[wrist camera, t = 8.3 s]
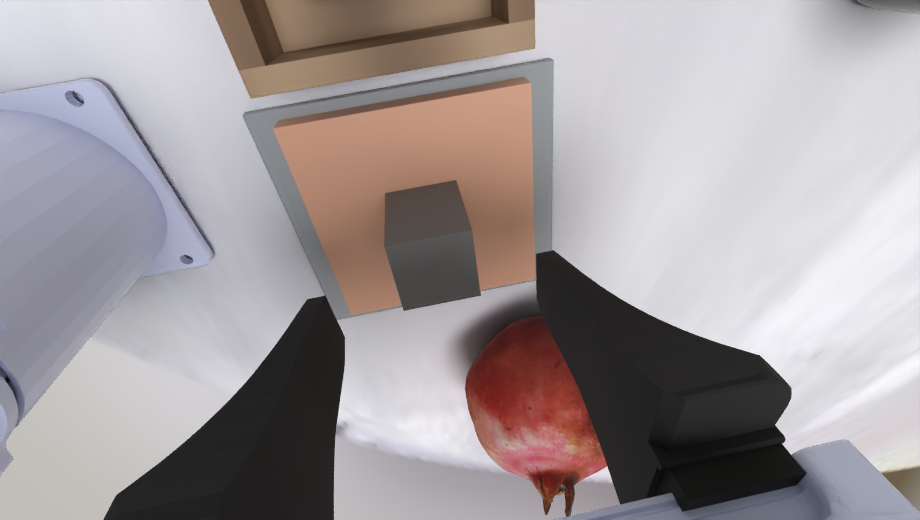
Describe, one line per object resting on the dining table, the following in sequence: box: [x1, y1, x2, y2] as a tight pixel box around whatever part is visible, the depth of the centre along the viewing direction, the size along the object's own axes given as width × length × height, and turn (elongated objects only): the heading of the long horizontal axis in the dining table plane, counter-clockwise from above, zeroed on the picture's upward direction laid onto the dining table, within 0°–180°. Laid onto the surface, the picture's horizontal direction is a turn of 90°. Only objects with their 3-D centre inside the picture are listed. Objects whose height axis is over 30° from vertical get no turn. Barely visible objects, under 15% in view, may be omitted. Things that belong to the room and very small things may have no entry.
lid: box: [273, 77, 535, 315], centre depth 16 cm, size 10×10×5 cm
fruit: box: [465, 315, 607, 517], centre depth 22 cm, size 9×10×10 cm
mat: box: [242, 58, 554, 320], centre depth 18 cm, size 12×11×1 cm
